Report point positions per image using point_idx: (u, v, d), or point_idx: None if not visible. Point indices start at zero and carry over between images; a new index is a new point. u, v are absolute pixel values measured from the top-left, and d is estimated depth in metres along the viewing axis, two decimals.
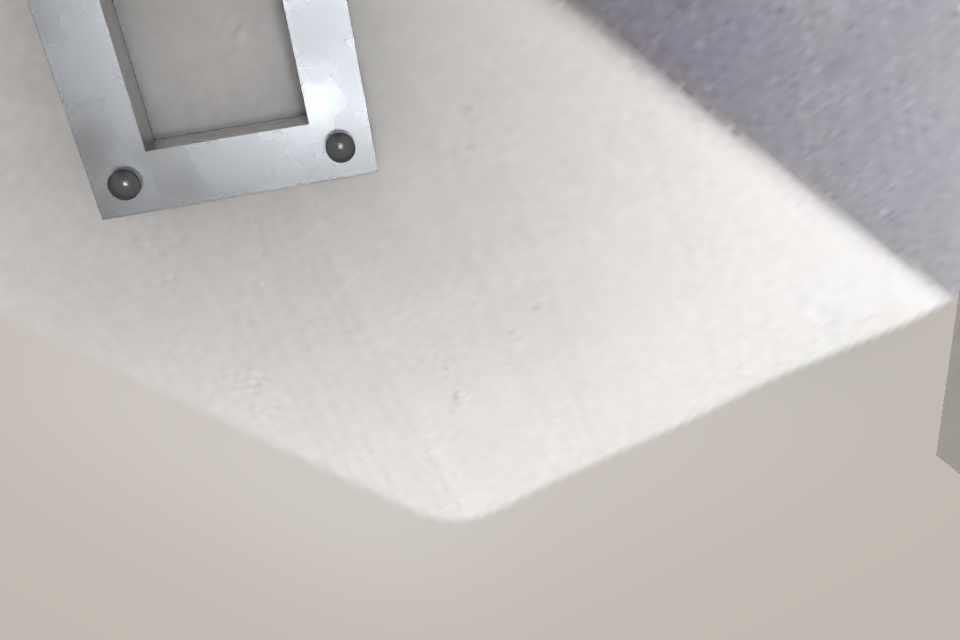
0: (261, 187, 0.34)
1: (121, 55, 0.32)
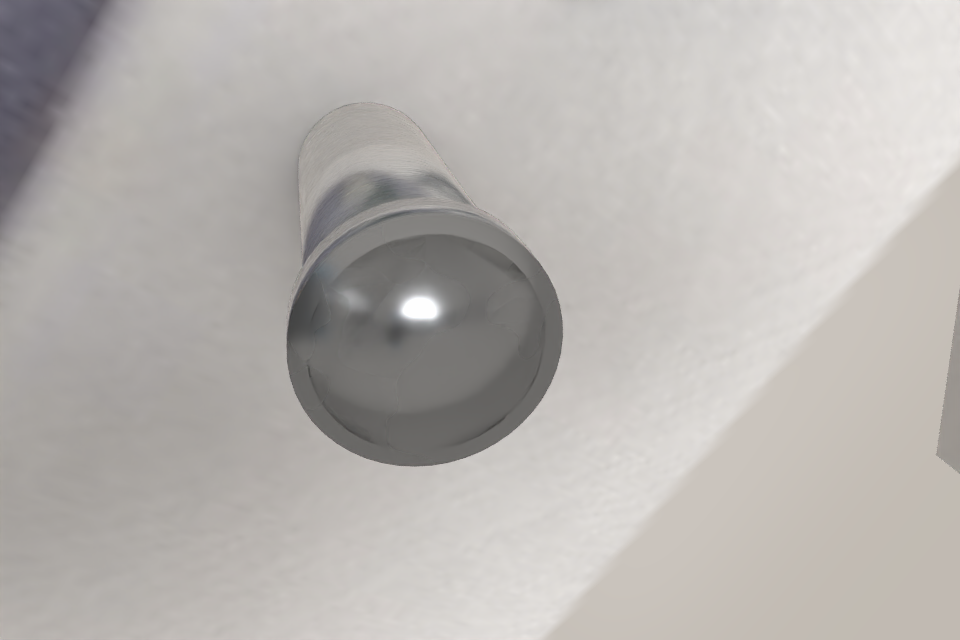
0: None
1: None
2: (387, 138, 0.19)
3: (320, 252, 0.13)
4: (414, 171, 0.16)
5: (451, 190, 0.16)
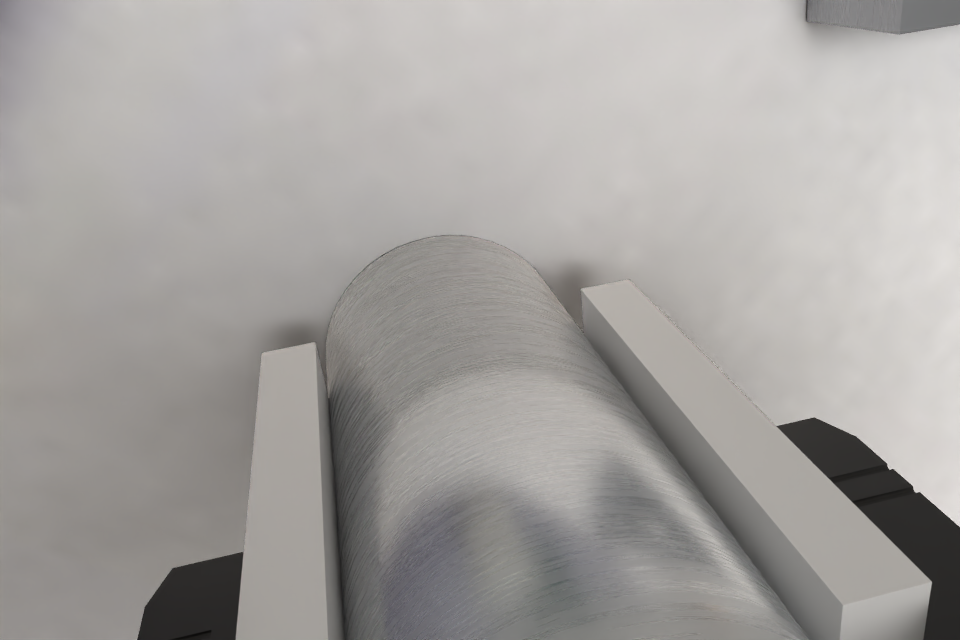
0: None
1: None
2: (533, 380, 0.09)
3: None
4: (669, 580, 0.06)
5: None
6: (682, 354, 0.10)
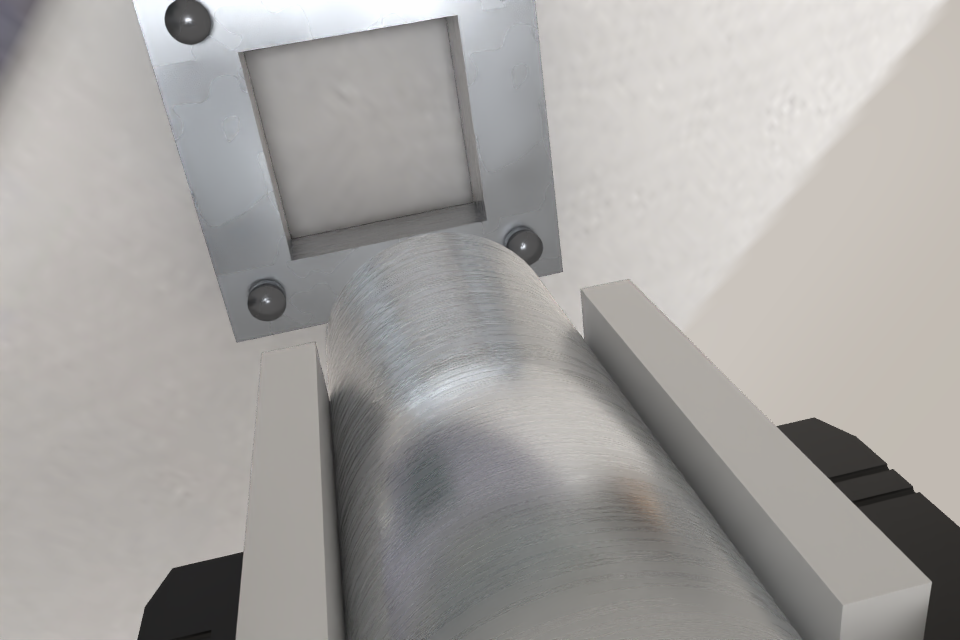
0: (538, 85, 0.26)
1: (378, 233, 0.28)
2: (523, 368, 0.09)
3: None
4: (646, 551, 0.06)
5: (761, 629, 0.06)
6: (682, 354, 0.10)
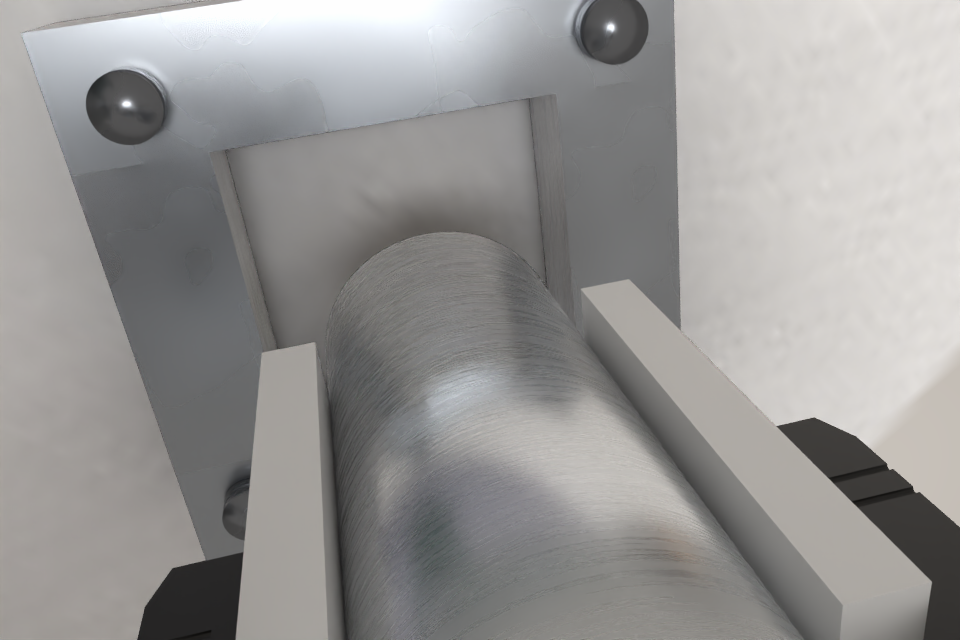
0: (669, 197, 0.17)
1: None
2: (523, 367, 0.09)
3: None
4: (647, 550, 0.06)
5: (762, 627, 0.06)
6: (682, 354, 0.10)
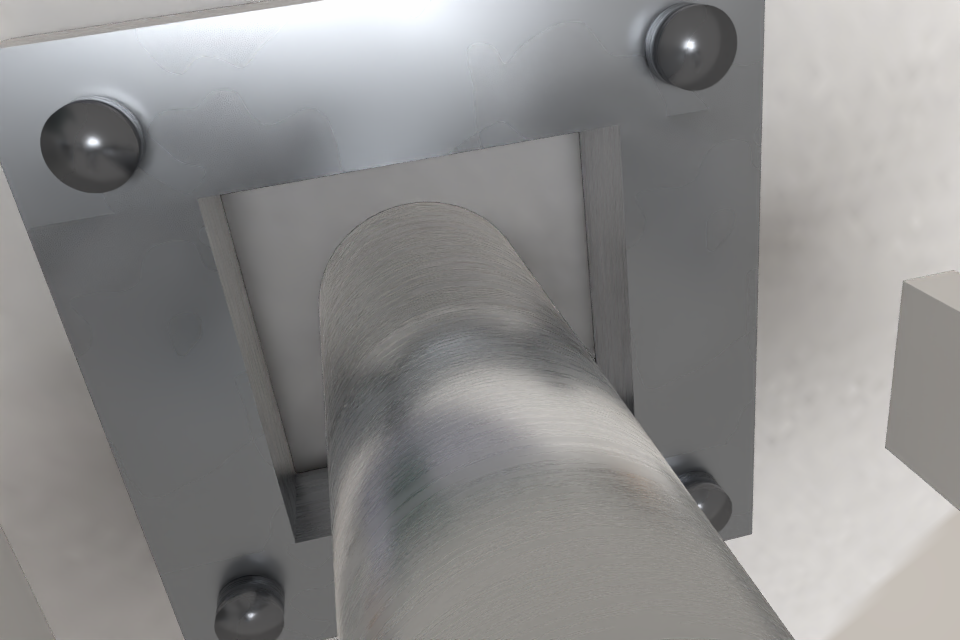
0: (749, 245, 0.14)
1: None
2: (484, 305, 0.11)
3: None
4: (570, 430, 0.08)
5: (656, 484, 0.08)
6: None
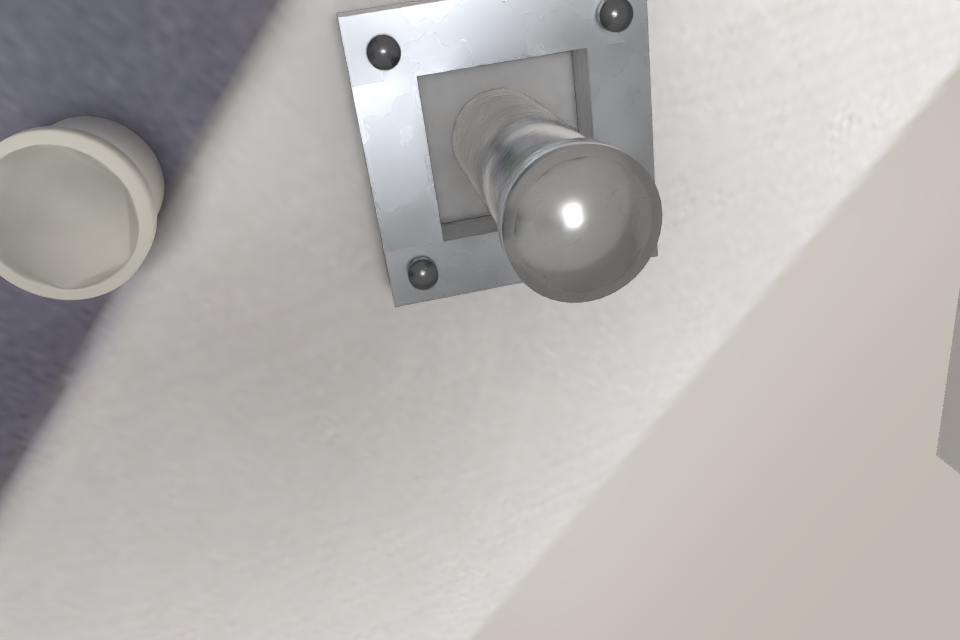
0: (647, 103, 0.32)
1: None
2: (532, 110, 0.29)
3: (523, 168, 0.23)
4: (561, 127, 0.26)
5: None
6: None
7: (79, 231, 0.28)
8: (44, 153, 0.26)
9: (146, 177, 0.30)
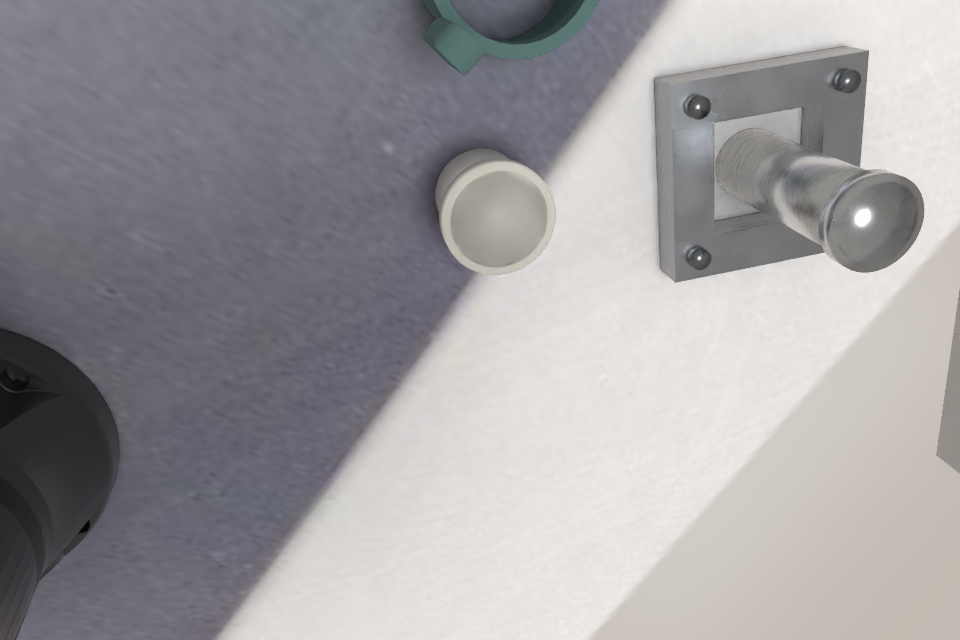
0: (859, 140, 0.46)
1: (753, 222, 0.48)
2: (801, 146, 0.43)
3: (844, 188, 0.37)
4: (840, 160, 0.40)
5: None
6: None
7: (510, 228, 0.41)
8: (500, 176, 0.40)
9: None
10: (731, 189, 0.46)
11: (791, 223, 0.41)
